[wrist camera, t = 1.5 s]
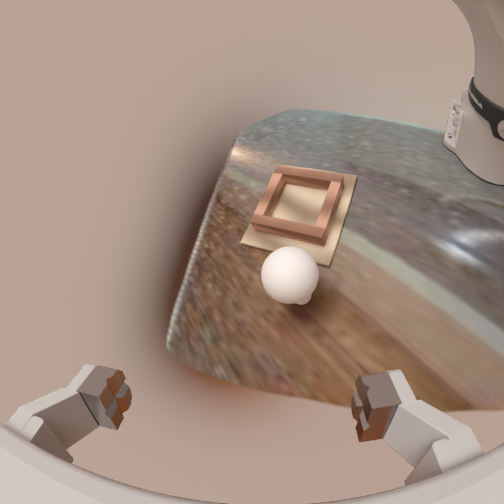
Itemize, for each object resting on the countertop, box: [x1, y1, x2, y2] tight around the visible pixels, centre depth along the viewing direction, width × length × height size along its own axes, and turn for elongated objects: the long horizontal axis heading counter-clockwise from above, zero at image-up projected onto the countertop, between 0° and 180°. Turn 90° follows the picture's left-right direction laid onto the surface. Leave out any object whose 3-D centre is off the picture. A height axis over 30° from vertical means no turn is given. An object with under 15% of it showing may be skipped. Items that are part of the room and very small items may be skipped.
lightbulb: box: [261, 246, 319, 305], centre depth 32 cm, size 6×6×11 cm
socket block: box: [240, 165, 357, 267], centre depth 41 cm, size 16×14×3 cm
